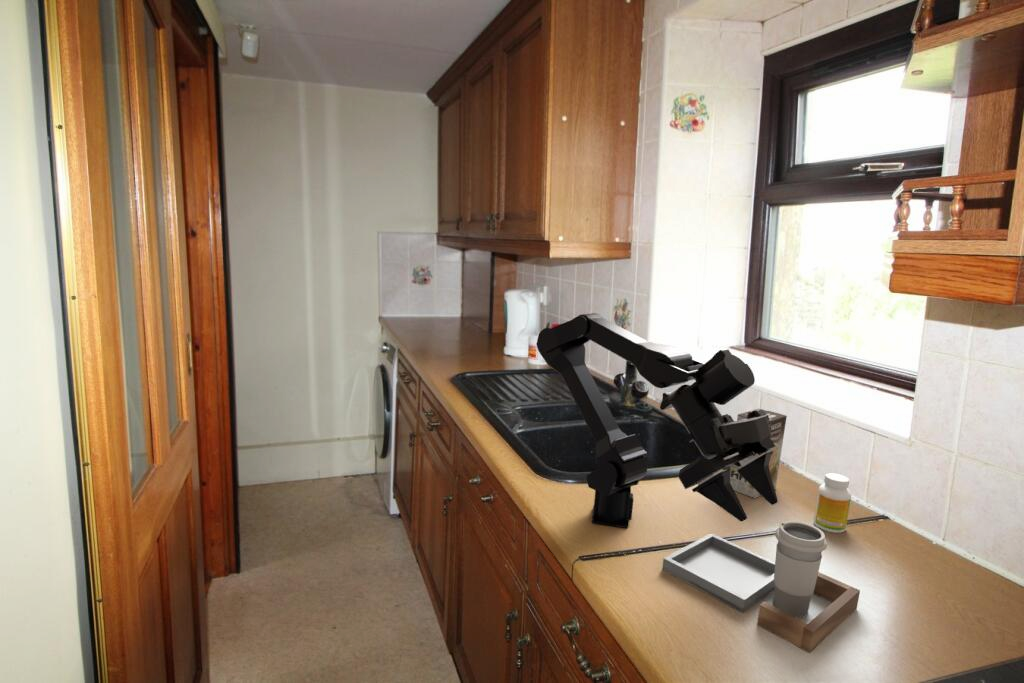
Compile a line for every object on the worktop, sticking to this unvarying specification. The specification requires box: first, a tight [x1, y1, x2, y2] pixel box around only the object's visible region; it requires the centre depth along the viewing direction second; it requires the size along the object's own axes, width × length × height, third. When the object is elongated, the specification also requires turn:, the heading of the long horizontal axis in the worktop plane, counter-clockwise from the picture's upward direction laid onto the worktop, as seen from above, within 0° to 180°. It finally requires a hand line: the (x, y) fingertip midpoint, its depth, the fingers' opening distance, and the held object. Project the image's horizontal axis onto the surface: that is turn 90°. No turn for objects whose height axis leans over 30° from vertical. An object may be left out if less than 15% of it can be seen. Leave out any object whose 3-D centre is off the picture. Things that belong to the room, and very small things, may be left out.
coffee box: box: [729, 408, 787, 499], centre depth 131 cm, size 9×6×16 cm
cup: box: [772, 520, 828, 618], centre depth 90 cm, size 7×7×12 cm
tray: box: [662, 533, 775, 613], centre depth 98 cm, size 14×14×2 cm
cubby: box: [756, 571, 861, 654], centre depth 89 cm, size 7×15×3 cm, turn 131°
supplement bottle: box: [813, 472, 852, 534], centre depth 116 cm, size 5×5×10 cm
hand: (760, 511), depth 93 cm, fingers open, 9 cm apart
